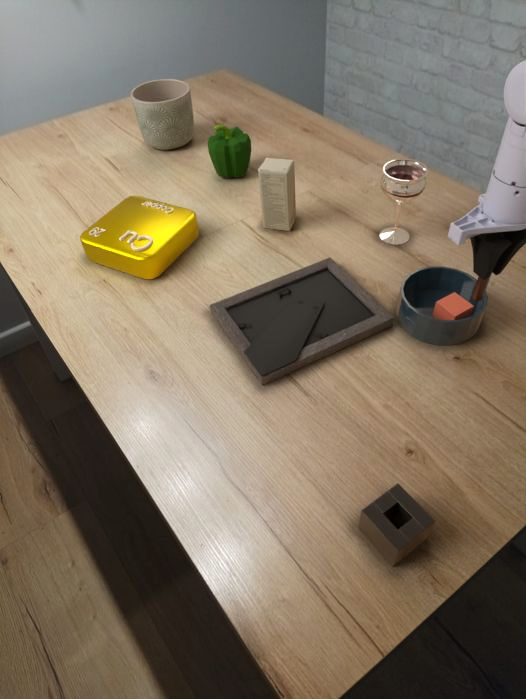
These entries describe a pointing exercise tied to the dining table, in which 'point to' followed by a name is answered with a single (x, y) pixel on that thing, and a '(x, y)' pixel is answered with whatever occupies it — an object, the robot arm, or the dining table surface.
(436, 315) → the block
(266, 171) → the box
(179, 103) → the planter
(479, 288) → the brown cylindrical rod
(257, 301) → the picture frame
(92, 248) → the element tile
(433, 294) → the bowl
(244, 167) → the bell pepper
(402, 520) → the stand
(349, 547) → the dining table surface
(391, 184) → the wineglass
